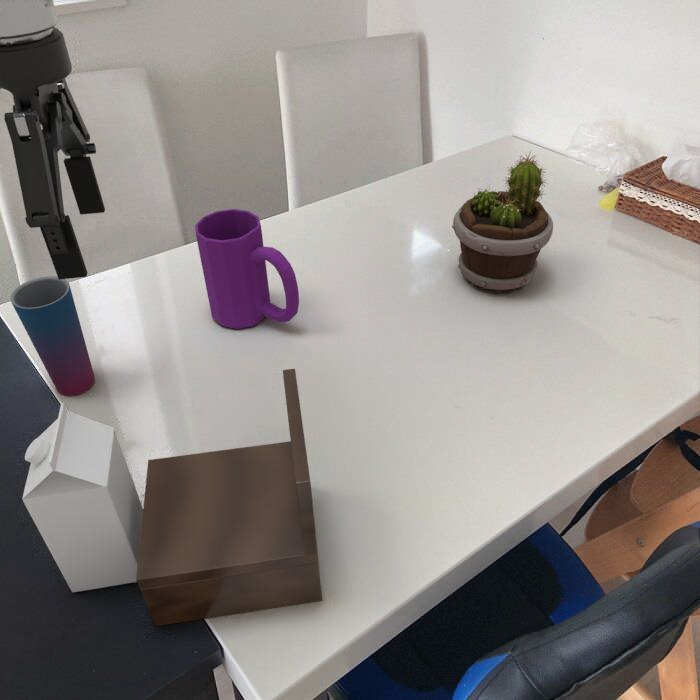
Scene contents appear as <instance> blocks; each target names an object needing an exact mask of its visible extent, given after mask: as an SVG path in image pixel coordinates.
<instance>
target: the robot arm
mask: <svg viewBox="0 0 700 700" xmlns="http://www.w3.org/2000/svg"><path fill="white" fill-rule="evenodd" d="M58 23H59V17H58V14H57V9H56V6H55V3H54V0H0V90H2V89H3V90H4V91H5V90H6V91H8V92H10V93H11V95H12V100H13V103H14V104H13V105H12V112H4V116H3V117H4V123H5V125H6V129H7V132H8V134H9V137H10V141H11V145H12V151H13V156H14V161H15V166H16V171H17V176H18V180H19V186H20V191H21V197H22V201H23V206H24V211H25V217H24V220H25V223H26V224H27V226H28V227H29V228H30V229H34V228H39V229H40V231H41V235H42V238H43V240H44V243H45V245H46V248H47V251H48V254H49V257H50V259H51V262H52V265H53V268H54V270H55V273H56V277H58V279H59V280H60V279H65V280H67V279H78V278H86V277H88V274H89V273H88V269H87V267H86V264H85V261H84V257H83V254H82V251H81V248H80V245H79V242H78V238H77V236H76V232H75V230H74V226H73V223H72V221H71V218H70V215H69V214H67V215H66V213H65V208H64V200H63V199H64V198H63V197H64V196H63V190H62V181H61V173H60V163H59V155H58V154H59V151H61V152H62V154H64V155H65V156H66V158H64V159H63V164H64V168H65V170H66V174H67V177H68V180H69V183H70V186H71V190H72V193H73V195H74V199H75V203H76V206H77V208H78V212H79V215H81V216H82V215H90V214H91V215H92V214H103V213H105V211H106V207H105V204H104V201H103V197H102V194H101V191H100V186H99V184H98V183H99V182H98V180H97V175H96V172H95V169H94V167H93V166H94V165H93V162H92V158H91V156H87V155H96V154H97V148H96V147H97V146H96V144H95V142H91V135H90V133H89V131H88V128H87V126H86V124H85V122H84V119H83V117H82V115H81V112H80V111H79V109H78V106H77V104H76V101H75V100H74V97H73V95H72V93H71V91H70V88H69V86H68V82H67V80H66V78H67V77H69V75H71V73H72V70H73V65H72V62H71V57H70V54H69V51H68V47H67V43H66V40H65V36H64V33H63V32H62V31H60V29H59V28H57V27H56V25H57V24H58Z"/></svg>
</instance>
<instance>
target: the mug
mask: <svg viewBox="0 0 700 700" xmlns="http://www.w3.org/2000/svg"><path fill="white" fill-rule="evenodd" d="M194 231H195V237H196V243H197V247H198V253H199V258H200V263H201V269H202V273H203V277H204V283H205V288H206V294H207V298H208V303H209V309H210V314H211V318H212V320H213V321H215V322H216V323H217V324H218V325H220V326H221V327H225V328H231V329H236V330H237V329H244V328H250V327H251V328H252V327H254V326H255V325H257V324H259V323H260V322H261V321H262V320H263V319H265V318H266V317H267V318H268V319H270V320H271V321H275V322H278V323H288V322H290V321H291V320H292V319H293V318H294V317H295V316H296V315H297V314H298V312H299V306H300V294H299V286H298V281H297V276H296V272H295V271H294V268H293V267H292V264H291V263H290V261H289V259H287V258H286V256H285V255H284V254H283V253H282V252H281V251H280V250H279V249H277V248H274V247H273V246H272V247H271V246H264V238H263V231H262V224H261V220H260V217H259V215H256V214H254V213H252V212H251V211H250V210H245V209H238V208H237V209H236V208H230V209H223V210H216V211H214V212H211V213H209V214H207V215H204V216H202V218H200V219H199V220H198V222H197V223H195V225H194ZM267 262H268V263H270V264H271V265H272V266H273V267H274V268H275V270H276V272H277V273H278V275H279V278H280V279H281V283H282V287H283V290H284V296H285V308H282V307H280V306H278V305H277V304H274V303H272V302H271V295H270V288H269V287H270V286H269V279H268V270H267Z"/></svg>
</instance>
